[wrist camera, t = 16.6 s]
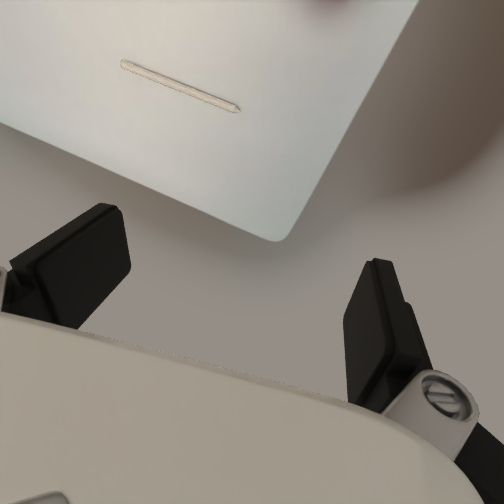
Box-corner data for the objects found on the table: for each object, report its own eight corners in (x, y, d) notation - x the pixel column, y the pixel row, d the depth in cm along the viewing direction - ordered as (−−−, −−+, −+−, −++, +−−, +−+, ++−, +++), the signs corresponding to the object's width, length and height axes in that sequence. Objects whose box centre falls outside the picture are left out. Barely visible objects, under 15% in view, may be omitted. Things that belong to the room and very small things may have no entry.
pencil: (239, 117, 34) (121, 69, 34) (242, 112, 35) (124, 64, 34) (240, 111, 33) (119, 62, 33) (243, 106, 34) (122, 57, 34)
